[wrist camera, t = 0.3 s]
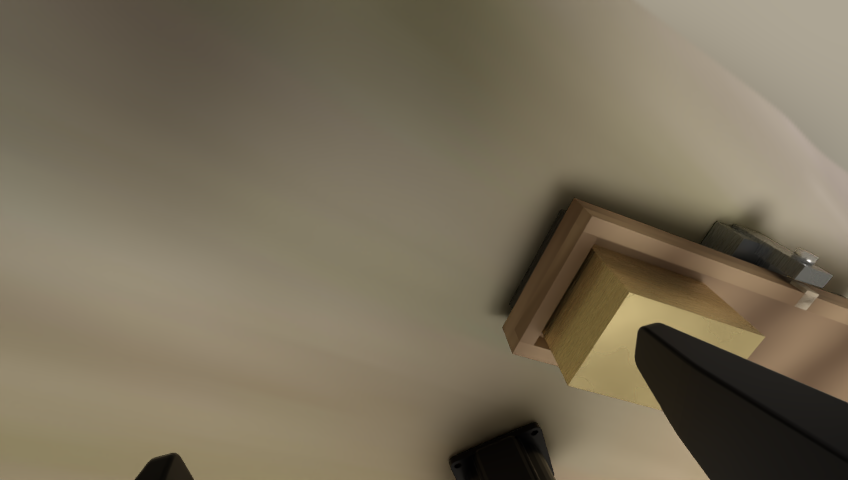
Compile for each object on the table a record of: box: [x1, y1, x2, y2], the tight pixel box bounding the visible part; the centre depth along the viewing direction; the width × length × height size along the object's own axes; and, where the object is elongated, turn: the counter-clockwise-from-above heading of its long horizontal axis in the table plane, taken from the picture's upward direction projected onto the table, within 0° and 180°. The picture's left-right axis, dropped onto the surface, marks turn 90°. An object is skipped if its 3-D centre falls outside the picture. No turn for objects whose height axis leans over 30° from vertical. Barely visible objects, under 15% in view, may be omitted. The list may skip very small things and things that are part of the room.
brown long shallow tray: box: [502, 198, 848, 402], centre depth 27 cm, size 26×8×2 cm, turn 68°
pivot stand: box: [509, 210, 847, 309], centre depth 29 cm, size 25×11×5 cm, turn 67°
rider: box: [542, 244, 765, 411], centre depth 23 cm, size 7×5×4 cm
